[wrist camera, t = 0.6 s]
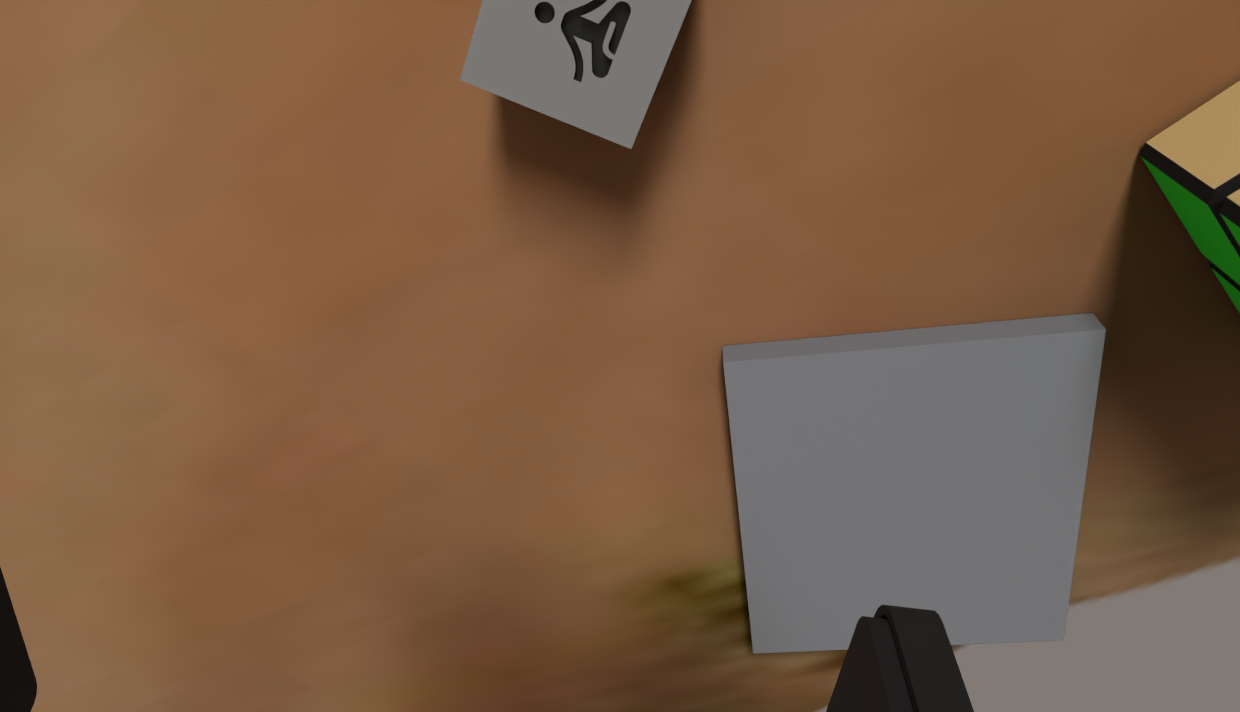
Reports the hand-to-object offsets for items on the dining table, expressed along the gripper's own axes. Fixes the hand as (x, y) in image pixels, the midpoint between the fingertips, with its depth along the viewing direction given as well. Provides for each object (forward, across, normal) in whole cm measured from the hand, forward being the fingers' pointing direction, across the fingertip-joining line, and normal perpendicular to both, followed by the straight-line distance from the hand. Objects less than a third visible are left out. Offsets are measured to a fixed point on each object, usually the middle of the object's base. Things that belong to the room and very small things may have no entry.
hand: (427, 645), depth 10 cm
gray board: (+22, -14, +14) cm, 30 cm away
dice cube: (+23, 0, -3) cm, 23 cm away
